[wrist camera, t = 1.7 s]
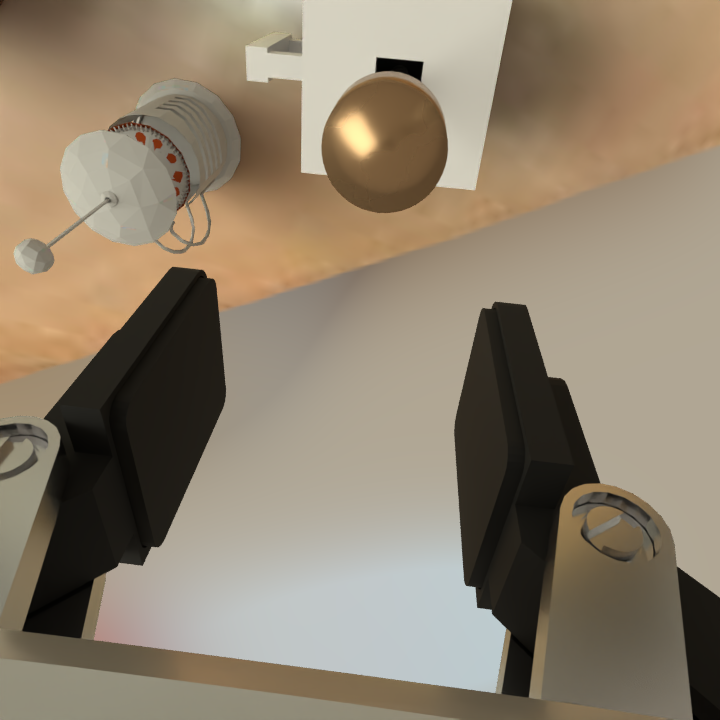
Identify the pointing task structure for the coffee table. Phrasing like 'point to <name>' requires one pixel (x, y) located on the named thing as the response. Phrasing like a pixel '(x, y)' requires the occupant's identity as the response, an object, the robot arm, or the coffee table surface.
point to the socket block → (393, 65)
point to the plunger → (385, 142)
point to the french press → (146, 169)
